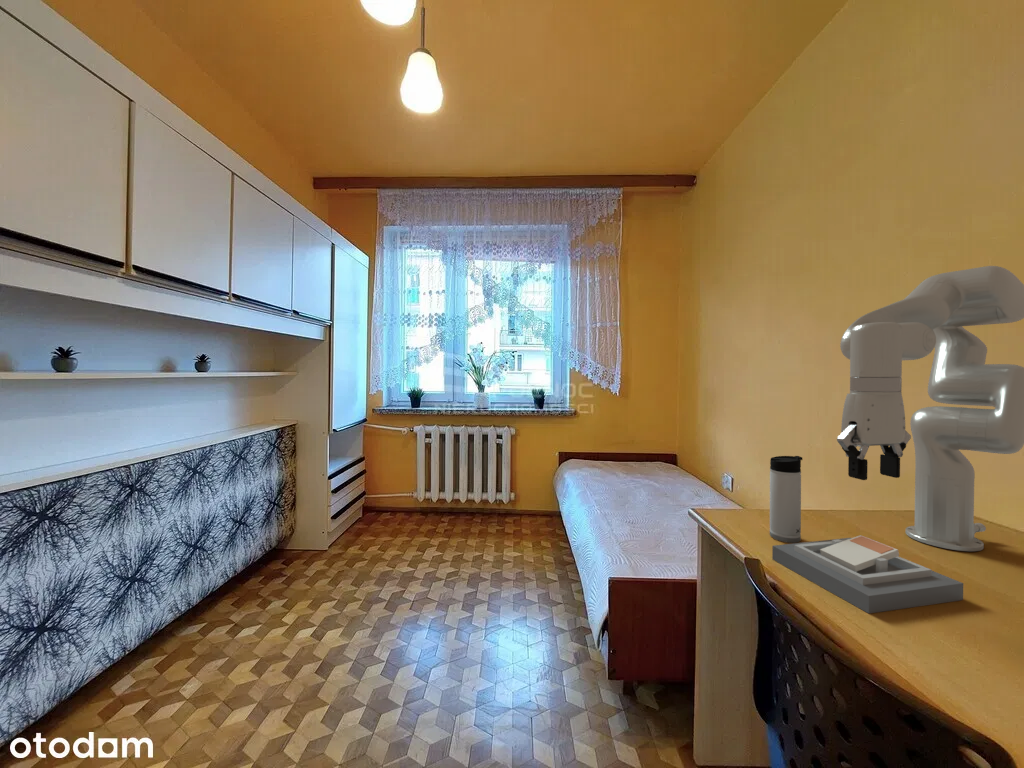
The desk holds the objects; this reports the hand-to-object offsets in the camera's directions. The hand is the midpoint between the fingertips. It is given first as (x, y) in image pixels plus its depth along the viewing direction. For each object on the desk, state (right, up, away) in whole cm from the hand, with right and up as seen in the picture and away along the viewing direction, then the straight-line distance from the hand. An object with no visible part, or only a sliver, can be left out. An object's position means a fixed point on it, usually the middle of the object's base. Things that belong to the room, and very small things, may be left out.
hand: (873, 476), depth 79 cm
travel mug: (-4, -20, +19) cm, 28 cm away
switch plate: (-3, -20, 0) cm, 20 cm away
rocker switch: (-3, -15, 0) cm, 15 cm away
